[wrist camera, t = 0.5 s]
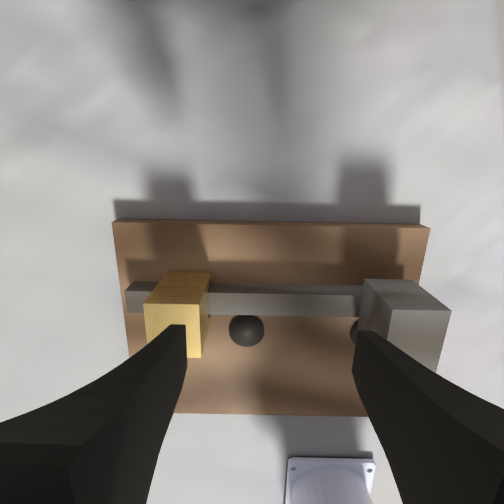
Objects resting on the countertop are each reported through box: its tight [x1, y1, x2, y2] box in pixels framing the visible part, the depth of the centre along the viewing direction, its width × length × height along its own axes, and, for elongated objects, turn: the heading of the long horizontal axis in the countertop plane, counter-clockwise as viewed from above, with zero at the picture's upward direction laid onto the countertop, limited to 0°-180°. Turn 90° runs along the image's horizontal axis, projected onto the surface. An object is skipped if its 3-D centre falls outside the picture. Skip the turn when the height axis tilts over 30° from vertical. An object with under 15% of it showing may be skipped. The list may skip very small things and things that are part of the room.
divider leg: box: [143, 272, 212, 372], centre depth 19 cm, size 5×3×5 cm, turn 179°
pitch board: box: [112, 219, 451, 417], centre depth 20 cm, size 16×21×7 cm
